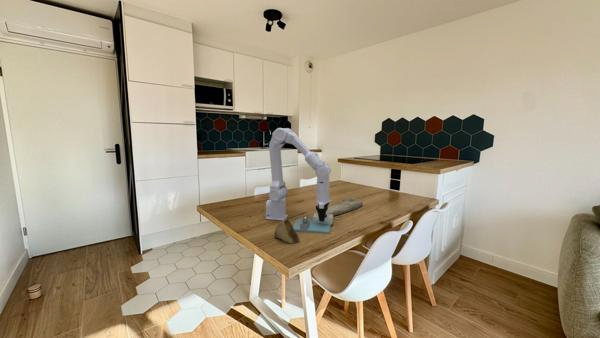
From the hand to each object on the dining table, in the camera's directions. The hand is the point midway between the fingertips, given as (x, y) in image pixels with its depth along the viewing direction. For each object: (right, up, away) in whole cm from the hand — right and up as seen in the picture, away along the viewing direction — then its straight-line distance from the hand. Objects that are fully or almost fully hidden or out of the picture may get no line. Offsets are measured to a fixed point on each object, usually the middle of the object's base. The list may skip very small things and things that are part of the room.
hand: (322, 219), depth 118 cm
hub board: (-5, -3, -3) cm, 6 cm away
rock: (-16, -5, -17) cm, 24 cm away
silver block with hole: (0, -1, 0) cm, 1 cm away
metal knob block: (-8, -3, -5) cm, 10 cm away
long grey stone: (+12, 0, +21) cm, 24 cm away
